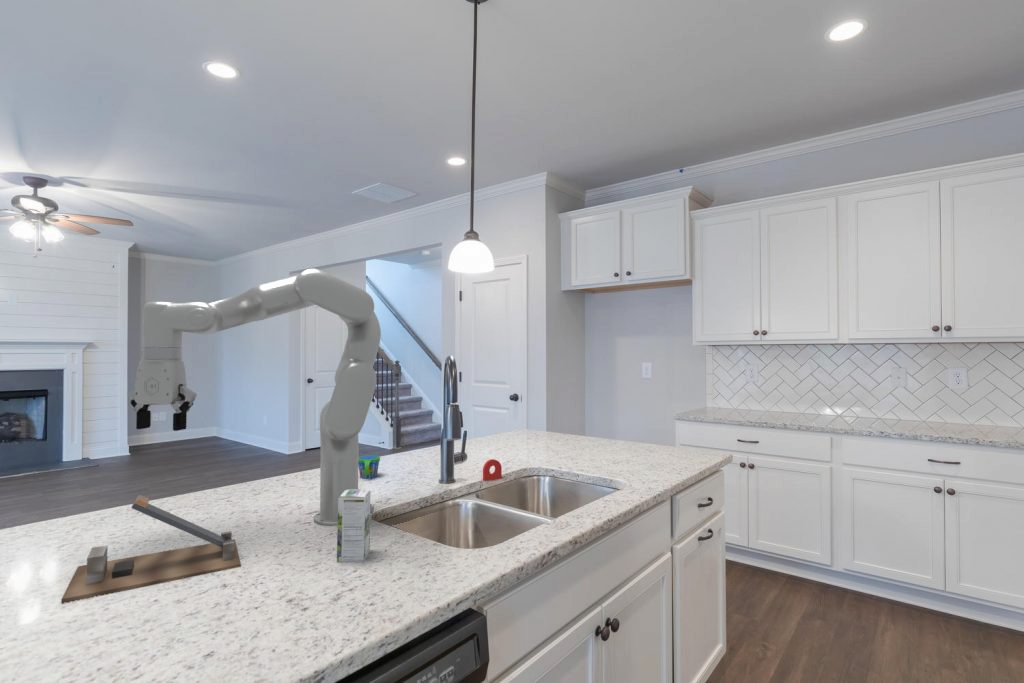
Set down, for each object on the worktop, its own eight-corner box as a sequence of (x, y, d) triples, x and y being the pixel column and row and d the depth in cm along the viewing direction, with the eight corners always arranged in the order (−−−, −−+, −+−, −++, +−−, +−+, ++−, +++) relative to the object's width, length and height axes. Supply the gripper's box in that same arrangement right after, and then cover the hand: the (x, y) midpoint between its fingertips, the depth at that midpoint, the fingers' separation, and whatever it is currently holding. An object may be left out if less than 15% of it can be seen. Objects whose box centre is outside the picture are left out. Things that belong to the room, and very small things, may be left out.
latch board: (234, 544, 119) (235, 518, 119) (240, 569, 105) (241, 540, 105) (78, 572, 104) (78, 542, 104) (61, 606, 90) (61, 571, 91)
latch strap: (228, 545, 113) (234, 537, 114) (230, 553, 109) (236, 544, 110) (132, 503, 104) (139, 494, 105) (129, 510, 100) (137, 500, 101)
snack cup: (361, 474, 184) (361, 454, 184) (382, 474, 184) (382, 453, 184) (353, 483, 173) (353, 461, 173) (376, 483, 173) (376, 460, 173)
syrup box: (343, 555, 113) (343, 489, 113) (370, 554, 113) (370, 488, 113) (336, 566, 107) (336, 496, 107) (365, 565, 108) (365, 496, 108)
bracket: (490, 487, 169) (490, 463, 169) (482, 484, 172) (482, 460, 172) (519, 481, 175) (519, 458, 176) (512, 479, 179) (512, 456, 179)
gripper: (115, 355, 117) (114, 430, 117) (181, 355, 114) (180, 433, 114) (144, 354, 125) (143, 425, 124) (207, 355, 122) (206, 428, 121)
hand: (161, 429), depth 119 cm, fingers open, 9 cm apart
